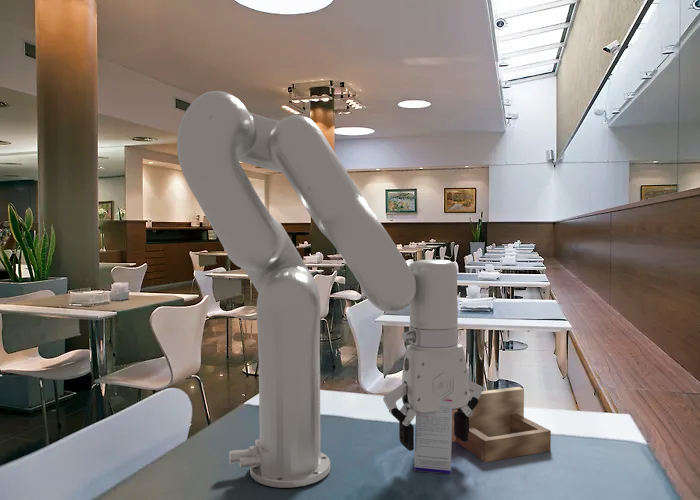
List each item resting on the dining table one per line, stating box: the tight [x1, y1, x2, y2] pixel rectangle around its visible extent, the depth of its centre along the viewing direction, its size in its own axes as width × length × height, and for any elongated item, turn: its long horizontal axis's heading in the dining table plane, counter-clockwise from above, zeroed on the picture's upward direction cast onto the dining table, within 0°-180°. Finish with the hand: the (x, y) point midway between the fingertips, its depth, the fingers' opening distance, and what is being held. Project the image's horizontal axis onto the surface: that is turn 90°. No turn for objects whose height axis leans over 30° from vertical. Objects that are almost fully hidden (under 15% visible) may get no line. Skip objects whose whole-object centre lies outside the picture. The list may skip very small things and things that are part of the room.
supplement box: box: [413, 400, 453, 475], centre depth 88 cm, size 6×6×12 cm
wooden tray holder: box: [452, 386, 552, 463], centre depth 96 cm, size 20×11×8 cm, turn 110°
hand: (434, 442), depth 88 cm, fingers open, 9 cm apart
